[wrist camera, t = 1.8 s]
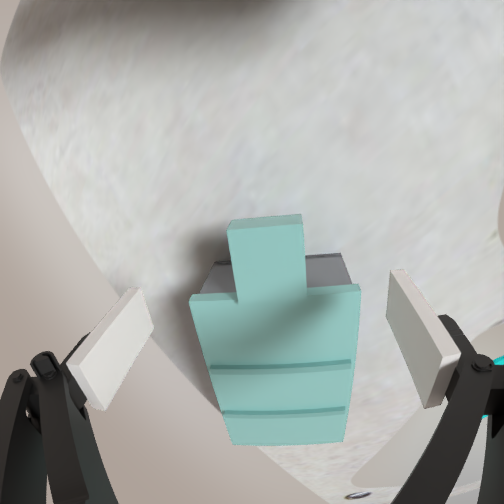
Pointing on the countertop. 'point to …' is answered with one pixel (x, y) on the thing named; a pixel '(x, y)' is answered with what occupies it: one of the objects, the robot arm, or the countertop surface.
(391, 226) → the countertop surface
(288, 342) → the lid
